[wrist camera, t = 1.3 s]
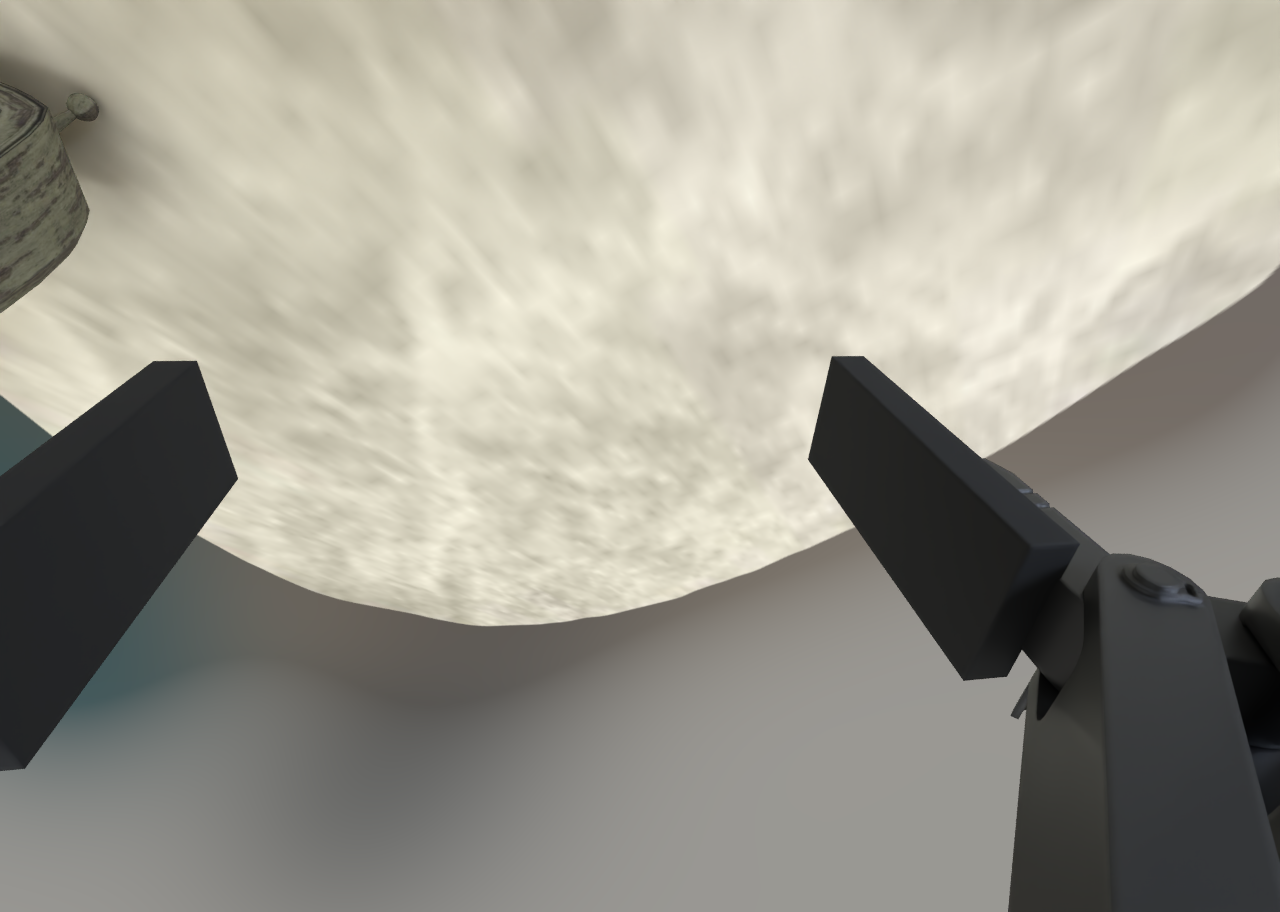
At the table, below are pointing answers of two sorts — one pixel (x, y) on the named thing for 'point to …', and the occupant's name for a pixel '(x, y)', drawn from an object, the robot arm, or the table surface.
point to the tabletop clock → (36, 191)
